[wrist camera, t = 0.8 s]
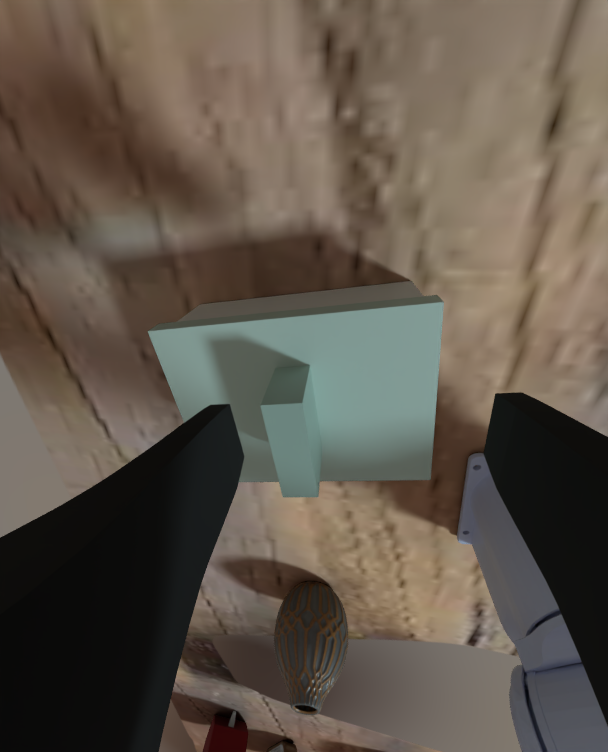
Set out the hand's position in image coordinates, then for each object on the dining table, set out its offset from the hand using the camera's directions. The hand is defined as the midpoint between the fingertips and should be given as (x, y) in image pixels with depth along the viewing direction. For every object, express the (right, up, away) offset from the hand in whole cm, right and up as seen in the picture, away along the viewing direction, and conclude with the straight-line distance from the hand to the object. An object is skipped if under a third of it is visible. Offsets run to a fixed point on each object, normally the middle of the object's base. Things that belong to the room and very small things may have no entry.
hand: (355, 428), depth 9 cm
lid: (-1, +1, +8) cm, 8 cm away
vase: (0, -21, +24) cm, 32 cm away
